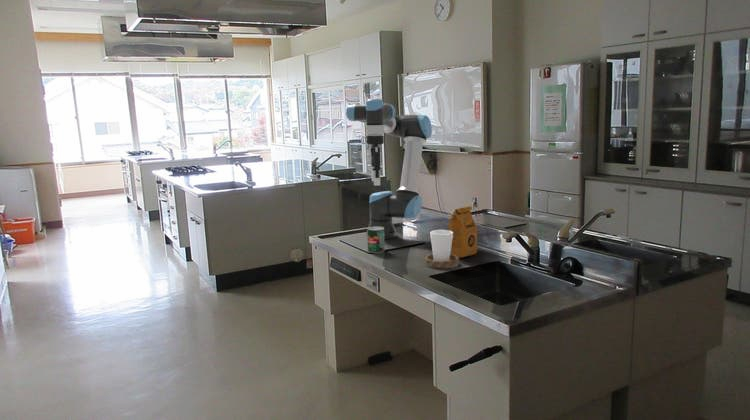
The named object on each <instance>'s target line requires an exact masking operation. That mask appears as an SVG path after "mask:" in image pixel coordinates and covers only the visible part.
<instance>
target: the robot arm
mask: <svg viewBox="0 0 750 420" xmlns="http://www.w3.org/2000/svg"><path fill="white" fill-rule="evenodd" d="M396 112H397V111H396V108H395V106H394V105H392V104H391V103H388V102H387V103H384V101H383V99H381V98H374V99H373V98H371V99H367V100H366V101H365V103H364V104H362V103H361V104H357V103H356V104H355V103H354V104H350V105H347V107H346V113H345V115H346V118H347V120H348V121H350V122H360V123H364V124H366V125H365V126H366V127H364V129H365V131H366V145H371V146H370V147H371V148H370V156H371V158H370V159H371V160H370V165H371V182H373V186H381V148H380V147H379V145H383V144H384V139H385V138H384V134H386V135H388V136H392V137H396V138H401V139H402V138H403V141H404V142H405V147H404V149H405V150H404V156H403V161H402V170H401V177H400V182H399V183H400V185H399V188H398V189H396V192H395V194H393V191H390V190H386V191H379V192H374V193H371V194H370V195H369V202H368V203H369V224H368V227H373V226H380V227H384V240H388V239H389V240H390V239H394V238H396V237H397V232H396V231H397V230H396V228H395V225H394V223H393V219H394V218H395V219H406V220H409V219H413V220H414V219H416V218H418V217H419V215H420V214H421V211H422V207H423V202H422V201H423V200H422V197H421V196H420V193H419V191H418V190H417V189H418V181H419V176H420V167H421V160H422V153H423V151H422V150H423V146H424V145H425V144H426V143H427V139H429V138H431V137H432V130H433V129H432V128H433V127H432V123H431V119H430V117H429V116H428V115H426V114H404V115H403V114H401V115H399V114H398V115H396V114H397V113H396ZM366 237H367V238H368V233H367V232H366Z"/></svg>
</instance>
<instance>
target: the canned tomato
mask: <svg viewBox="0 0 750 420" xmlns="http://www.w3.org/2000/svg"><path fill="white" fill-rule="evenodd" d="M367 233H368V237H367V252H368V253H371V254H381V253H384V252H385V239H384V227H380V226H373V227H369V226H368V227H367V231H366V234H367Z"/></svg>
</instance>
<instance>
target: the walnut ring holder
mask: <svg viewBox="0 0 750 420" xmlns="http://www.w3.org/2000/svg"><path fill="white" fill-rule="evenodd" d="M424 263H425V266H426V267H429V268H432V269H440V270H443V269H446V270H447V269H453V268H456V267H458V266H459V263H460V257H458V256H456V255H453V254H450V259H449V261H443V262H440V261H434V258H433V253H430V254H426V256H424Z"/></svg>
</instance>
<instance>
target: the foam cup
mask: <svg viewBox="0 0 750 420" xmlns="http://www.w3.org/2000/svg"><path fill="white" fill-rule="evenodd" d="M429 235H430V237H429V238H430V242H431V249H432V254H433V258H434V261H440V262H443V261H449V259H450V252H451V245H452V238H453V232H452V231H449V229H448V230H447V229H436V230H435V229H434V230H431V231H430V234H429Z"/></svg>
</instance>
